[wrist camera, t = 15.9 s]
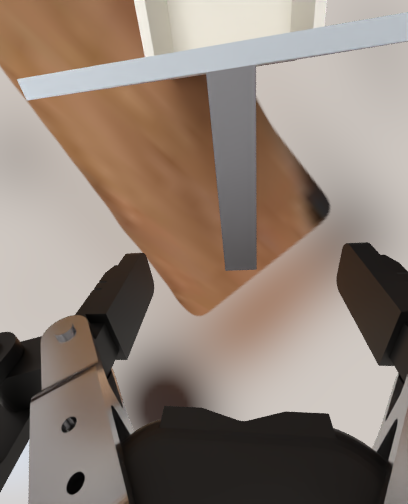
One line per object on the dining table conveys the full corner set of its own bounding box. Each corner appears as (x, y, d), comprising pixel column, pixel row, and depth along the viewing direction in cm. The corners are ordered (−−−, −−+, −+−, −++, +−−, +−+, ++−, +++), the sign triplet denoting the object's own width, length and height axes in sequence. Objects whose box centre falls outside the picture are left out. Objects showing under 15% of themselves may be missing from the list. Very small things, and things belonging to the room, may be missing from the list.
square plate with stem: (17, 79, 8) (107, 274, 13) (512, -6, 6) (398, 264, 11) (148, 73, 21) (169, 173, 26) (322, 45, 19) (309, 160, 24)
